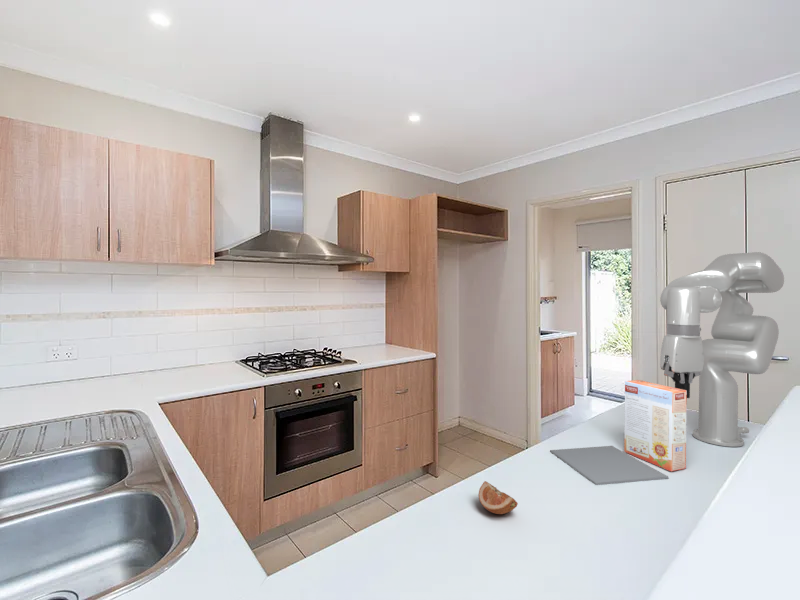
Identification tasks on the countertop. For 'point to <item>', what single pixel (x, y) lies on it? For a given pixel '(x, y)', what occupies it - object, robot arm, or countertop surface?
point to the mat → (607, 465)
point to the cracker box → (656, 424)
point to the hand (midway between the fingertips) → (682, 396)
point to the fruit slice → (495, 499)
